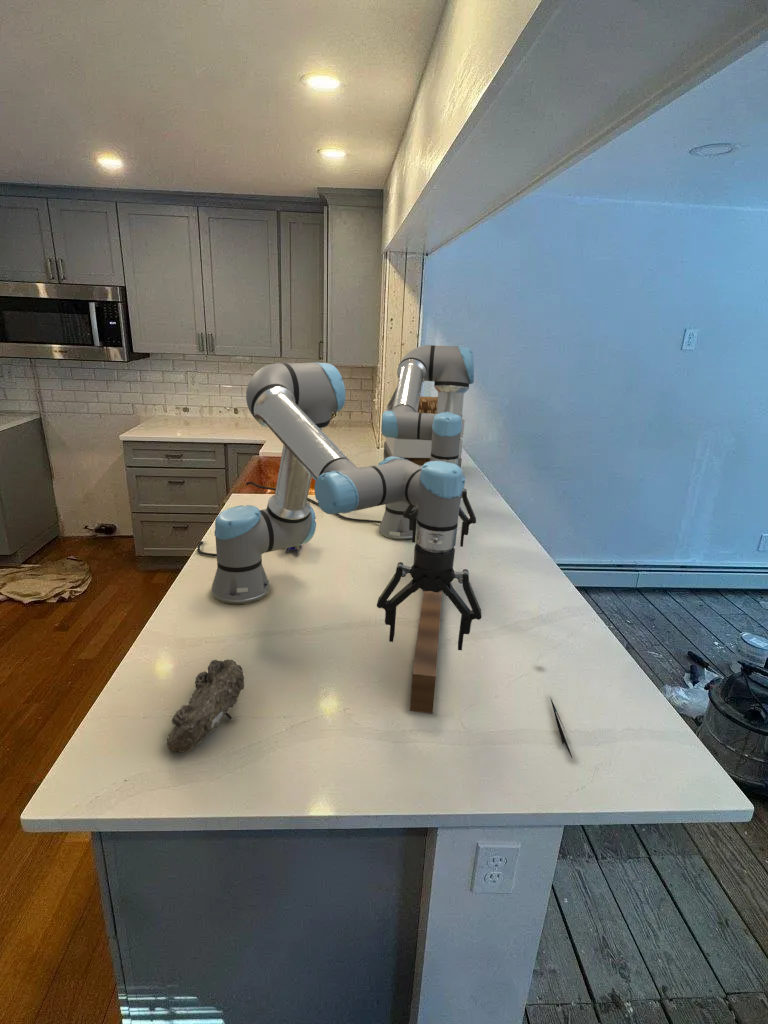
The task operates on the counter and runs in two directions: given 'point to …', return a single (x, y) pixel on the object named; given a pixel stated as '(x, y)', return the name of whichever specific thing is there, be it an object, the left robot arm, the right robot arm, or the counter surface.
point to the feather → (560, 728)
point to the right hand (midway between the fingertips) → (437, 542)
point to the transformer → (415, 448)
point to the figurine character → (293, 548)
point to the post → (426, 654)
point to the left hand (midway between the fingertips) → (425, 642)
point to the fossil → (206, 705)
